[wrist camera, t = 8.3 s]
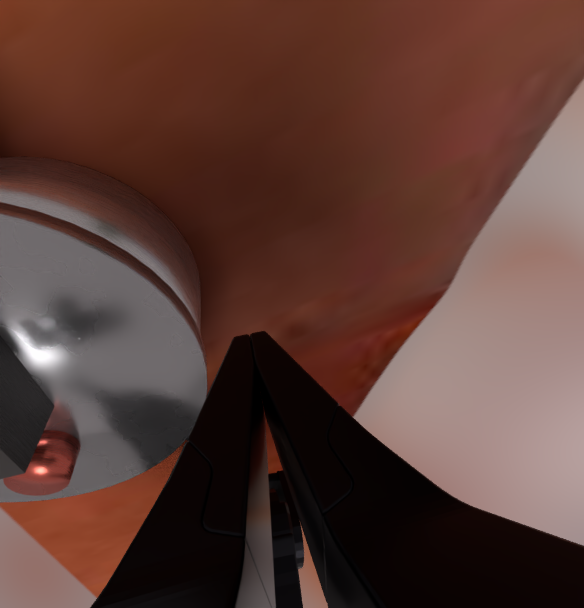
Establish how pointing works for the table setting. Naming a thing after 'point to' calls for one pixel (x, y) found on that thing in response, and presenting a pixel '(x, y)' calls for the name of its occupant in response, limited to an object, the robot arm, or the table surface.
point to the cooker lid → (87, 361)
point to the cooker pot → (105, 216)
